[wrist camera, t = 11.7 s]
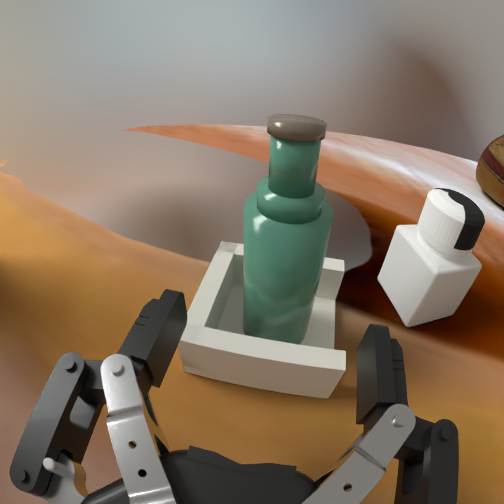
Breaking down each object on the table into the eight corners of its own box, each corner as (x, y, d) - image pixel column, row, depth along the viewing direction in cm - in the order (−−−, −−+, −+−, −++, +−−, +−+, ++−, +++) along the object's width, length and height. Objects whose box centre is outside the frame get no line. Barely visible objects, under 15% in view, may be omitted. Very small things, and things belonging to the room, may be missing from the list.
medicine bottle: (422, 272, 31) (459, 182, 24) (453, 315, 26) (505, 222, 18) (375, 279, 30) (410, 177, 23) (405, 329, 25) (460, 222, 17)
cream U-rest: (184, 371, 21) (175, 338, 18) (222, 277, 30) (221, 241, 27) (327, 398, 19) (345, 370, 17) (332, 295, 28) (343, 260, 25)
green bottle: (236, 346, 22) (233, 126, 12) (250, 298, 26) (256, 108, 16) (303, 357, 21) (353, 140, 11) (308, 307, 25) (343, 117, 15)
